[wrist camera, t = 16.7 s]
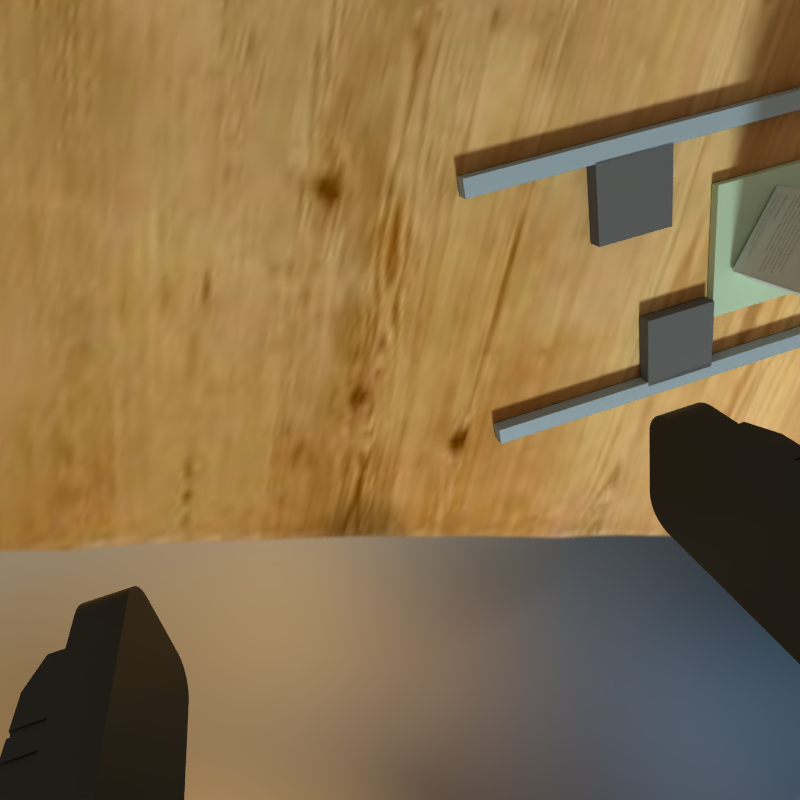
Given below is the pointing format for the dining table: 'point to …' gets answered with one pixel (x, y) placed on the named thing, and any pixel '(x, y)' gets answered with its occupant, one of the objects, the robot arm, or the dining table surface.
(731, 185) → the pad
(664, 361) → the grey slab
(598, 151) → the lane rails
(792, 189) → the skincare box
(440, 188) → the dining table surface
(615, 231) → the grey square block
